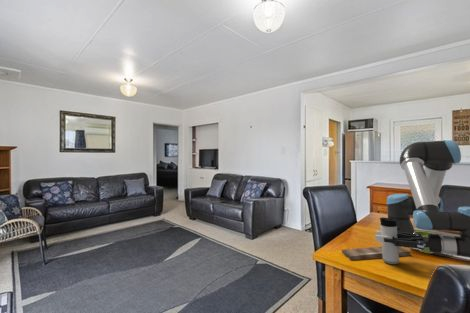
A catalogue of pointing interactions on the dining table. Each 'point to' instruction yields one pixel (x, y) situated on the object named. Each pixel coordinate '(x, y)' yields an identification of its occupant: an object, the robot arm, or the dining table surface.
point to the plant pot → (424, 234)
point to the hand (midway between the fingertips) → (376, 235)
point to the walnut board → (370, 253)
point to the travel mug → (389, 249)
